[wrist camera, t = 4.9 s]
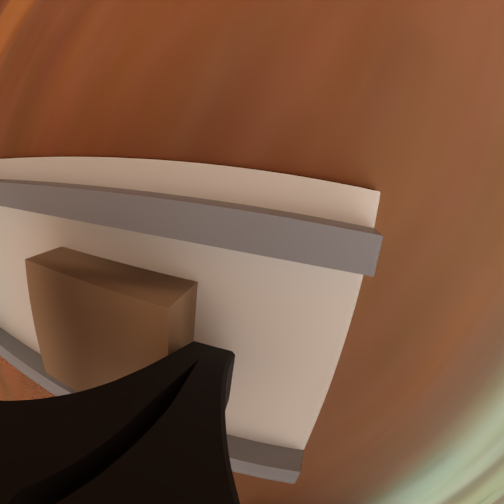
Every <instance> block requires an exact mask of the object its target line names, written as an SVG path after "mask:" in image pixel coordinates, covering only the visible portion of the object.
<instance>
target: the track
mask: <svg viewBox="0 0 504 504" xmlns="http://www.w3.org/2000/svg"><path fill="white" fill-rule="evenodd" d="M379 198H380V192H379V191H374V190H370V189H365V188H360V187H356V186H351V185H346V184H340V183H335V182H330V181H324V180H319V179H313V178H307V177H301V176H295V175H289V174H283V173H276V172H269V171H262V170H255V169H247V168H239V167H231V166H222V165H213V164H203V163H192V162H181V161H168V160H154V159H137V158H113V157H29V158H8V159H0V356H1V357H2V358H4V359H5V360H6V361H7V362H9V363H10V364H11V365H13V366H14V367H15V368H17V369H18V370H19V371H21V372H22V373H23V374H25V375H26V376H27V377H29V378H30V379H32V380H33V381H34V382H36V383H37V384H39V385H40V386H42V387H43V388H45V389H46V390H48V391H49V392H51V393H52V394H54V395H55V396H61V395H66V394H71V393H76V392H77V391H76V390H74V389H72V388H70V387H69V386H67V385H65V384H63V383H62V382H60V381H58V380H57V379H55V378H54V377H52V376H50V375H49V374H47V373H46V371H45V368H44V364H43V360H42V356H41V353H40V348H39V344H38V340H37V336H36V331H35V326H34V321H33V316H32V310H31V304H30V298H29V291H28V284H27V275H26V266H25V259H27V258H30V257H32V256H35V255H38V254H41V253H44V252H47V251H50V250H53V249H56V248H59V247H65V248H69V249H72V250H76V251H79V252H83V253H87V254H90V255H94V256H97V257H101V258H105V259H108V260H112V261H116V262H120V263H124V264H127V265H131V266H135V267H139V268H143V269H147V270H151V271H155V272H159V273H163V274H167V275H171V276H175V277H179V278H183V279H188V280H192V281H196V282H198V287H197V299H196V313H195V327H194V341H196V342H199V343H203V344H207V345H210V346H214V347H218V348H222V349H226V350H230V351H232V352H233V353H234V354H235V360H234V367H233V374H232V382H231V389H230V396H229V400H228V404H227V407H226V410H225V418H226V434H227V443H228V451H229V457H230V463H231V469H232V471H233V472H237V473H241V474H245V475H250V476H254V477H259V478H264V479H269V480H274V481H280V482H286V483H293V484H295V482H296V480H297V478H298V476H299V474H300V472H301V466H302V459H303V451H304V448H305V446H306V443H307V441H308V439H309V437H310V434H311V432H312V429H313V427H314V425H315V422H316V420H317V417H318V415H319V412H320V410H321V407H322V405H323V402H324V399H325V397H326V394H327V391H328V389H329V386H330V383H331V380H332V378H333V375H334V372H335V369H336V366H337V363H338V360H339V357H340V354H341V351H342V348H343V345H344V342H345V339H346V335H347V332H348V329H349V326H350V322H351V319H352V315H353V312H354V308H355V305H356V301H357V297H358V294H359V290H360V286H361V282H362V278H363V275H368V276H373V277H374V273H375V269H376V265H377V261H378V257H379V253H380V248H381V244H382V239H383V236H382V235H381V234H380V233H379V232H378V231H377V230H375V229H374V225H375V220H376V214H377V209H378V203H379Z"/></svg>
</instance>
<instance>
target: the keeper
mask: <svg viewBox="0 0 504 504" xmlns="http://www.w3.org/2000/svg"><path fill="white" fill-rule="evenodd" d="M25 266H26V275H27V284H28V291H29V298H30V304H31V310H32V316H33V321H34V326H35V331H36V336H37V340H38V344H39V348H40V353H41V356H42V360H43V364H44V368H45V371H46V373H47V374H49V375H50V376H52V377H54V378H55V379H57V380H58V381H60V382H62V383H63V384H65V385H67V386H69V387H70V388H72V389H74V390H76V391H77V392H80V391H84V390H87V389H91V388H94V387H98V386H101V385H104V384H107V383H109V382H112V381H115V380H117V379H120V378H122V377H124V376H127V375H129V374H131V373H133V372H136V371H138V370H140V369H143V368H144V367H146V366H148V365H150V364H152V363H154V362H156V361H158V360H160V359H162V358H164V357H166V356H168V355H169V354H171V353H173V352H175V351H177V350H178V349H180V348H182V347H184V346H186V345H187V344H189V343H191V342H193V341H194V327H195V313H196V299H197V287H198V282H196V281H192V280H188V279H183V278H179V277H175V276H171V275H167V274H163V273H159V272H155V271H151V270H147V269H143V268H139V267H135V266H131V265H127V264H124V263H120V262H116V261H112V260H108V259H105V258H101V257H97V256H94V255H90V254H87V253H83V252H79V251H76V250H72V249H69V248H65V247H59V248H56V249H53V250H50V251H47V252H44V253H41V254H38V255H35V256H32V257H30V258H27V259H25Z"/></svg>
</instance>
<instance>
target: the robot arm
mask: <svg viewBox="0 0 504 504" xmlns="http://www.w3.org/2000/svg"><path fill="white" fill-rule="evenodd" d="M234 360H235V354H234V353H233V352H232V351H230V350H226V349H222V348H218V347H214V346H210V345H207V344H203V343H199V342H196V341H193V342H191V343H189V344H187V345H186V346H184V347H182V348H180V349H178V350H177V351H175V352H173V353H171V354H169V355H168V356H166V357H164V358H162V359H160V360H158V361H156V362H154V363H152V364H150V365H148V366H146V367H144V368H143V369H140V370H138V371H136V372H133V373H131V374H129V375H127V376H124V377H122V378H120V379H117V380H115V381H112V382H109V383H107V384H104V385H101V386H98V387H94V388H91V389H87V390H84V391H80V392H76V393H71V394H66V395H61V396H55V397H50V398H44V399H34V400H20V401H0V504H240V502H239V498H238V494H237V490H236V486H235V482H234V478H233V474H232V469H231V463H230V457H229V451H228V443H227V434H226V418H225V410H226V407H227V404H228V400H229V396H230V389H231V382H232V374H233V367H234Z"/></svg>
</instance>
